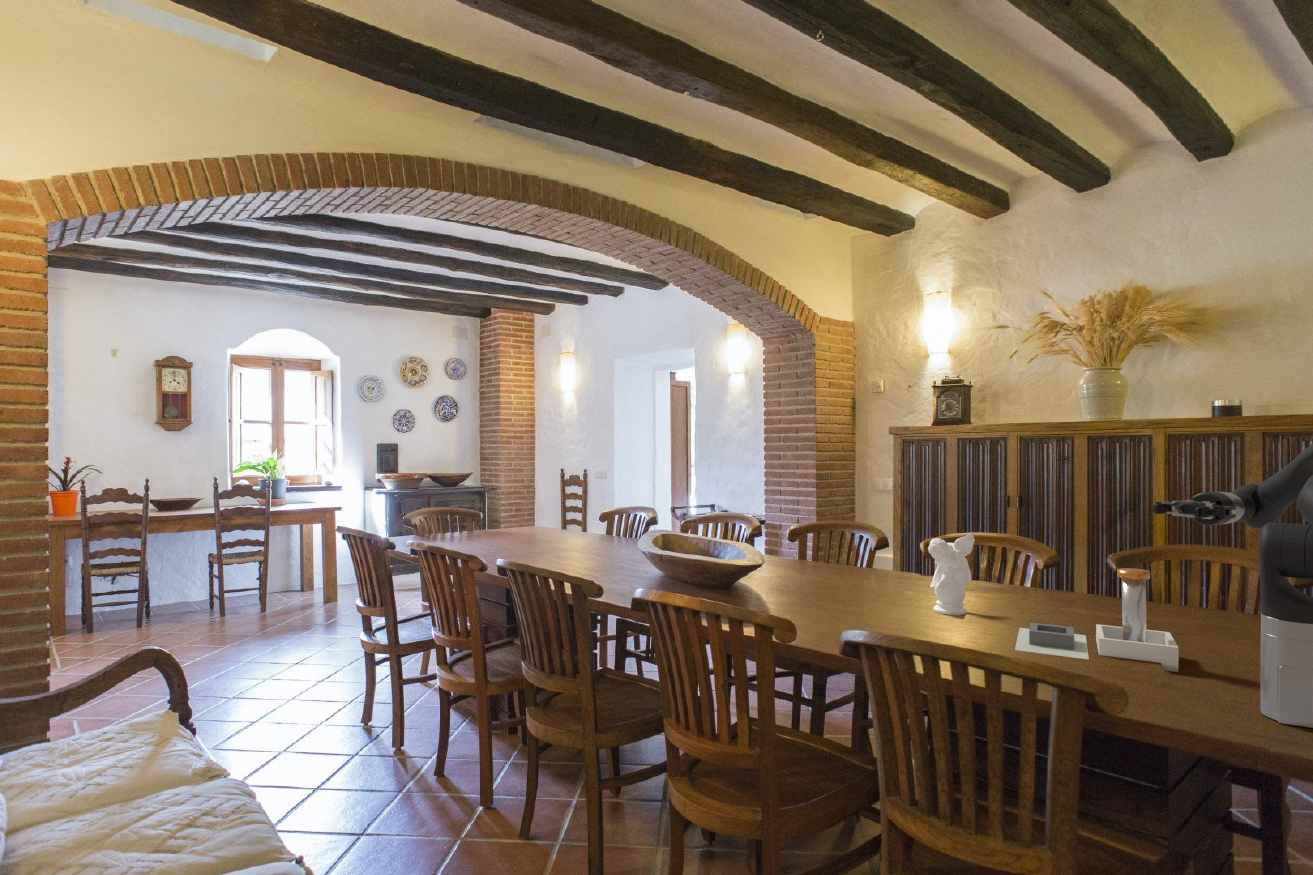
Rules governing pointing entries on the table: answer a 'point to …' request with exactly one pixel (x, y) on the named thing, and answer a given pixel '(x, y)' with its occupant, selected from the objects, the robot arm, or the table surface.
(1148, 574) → the steel pin
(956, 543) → the cherub figurine
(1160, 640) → the tray
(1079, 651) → the hitch plate
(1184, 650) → the table surface
